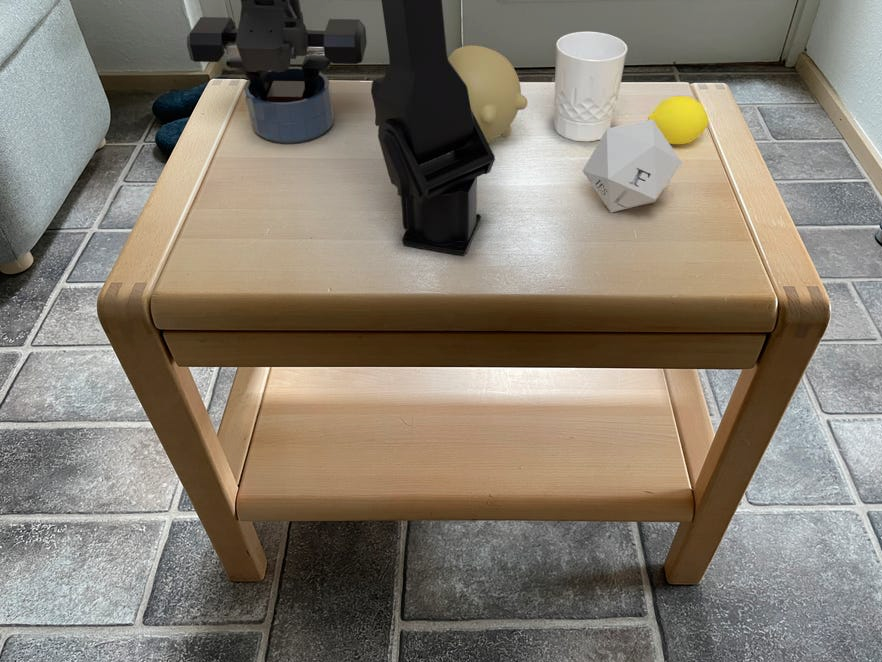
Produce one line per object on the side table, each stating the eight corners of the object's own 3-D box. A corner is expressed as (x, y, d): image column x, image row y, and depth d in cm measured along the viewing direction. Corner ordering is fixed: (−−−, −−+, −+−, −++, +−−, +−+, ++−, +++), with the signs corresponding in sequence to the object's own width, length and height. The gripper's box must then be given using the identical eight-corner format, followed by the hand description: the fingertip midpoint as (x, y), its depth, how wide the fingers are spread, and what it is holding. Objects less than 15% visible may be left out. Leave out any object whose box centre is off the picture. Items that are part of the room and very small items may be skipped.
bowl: (346, 112, 92) (341, 72, 88) (314, 150, 85) (308, 109, 82) (274, 101, 94) (267, 62, 90) (238, 138, 87) (228, 97, 84)
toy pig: (498, 151, 93) (457, 74, 92) (553, 105, 83) (507, 18, 82) (438, 177, 88) (394, 95, 87) (489, 131, 78) (439, 38, 77)
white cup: (622, 142, 88) (636, 58, 81) (557, 147, 87) (566, 62, 80) (604, 111, 93) (615, 29, 86) (542, 115, 92) (549, 33, 85)
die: (564, 206, 79) (602, 168, 70) (587, 134, 82) (627, 87, 72) (635, 236, 81) (681, 203, 71) (656, 165, 83) (703, 123, 73)
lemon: (702, 132, 90) (712, 89, 86) (705, 155, 86) (716, 111, 82) (643, 128, 90) (651, 85, 86) (644, 150, 87) (652, 106, 83)
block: (312, 113, 90) (307, 81, 88) (307, 129, 88) (301, 96, 85) (279, 112, 90) (273, 80, 88) (272, 128, 88) (266, 96, 85)
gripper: (152, -2, 71) (194, 146, 83) (347, 1, 72) (363, 148, 83) (184, -40, 79) (218, 99, 90) (360, -37, 80) (372, 101, 91)
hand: (291, 112), depth 88 cm, fingers closed on block, 4 cm apart
